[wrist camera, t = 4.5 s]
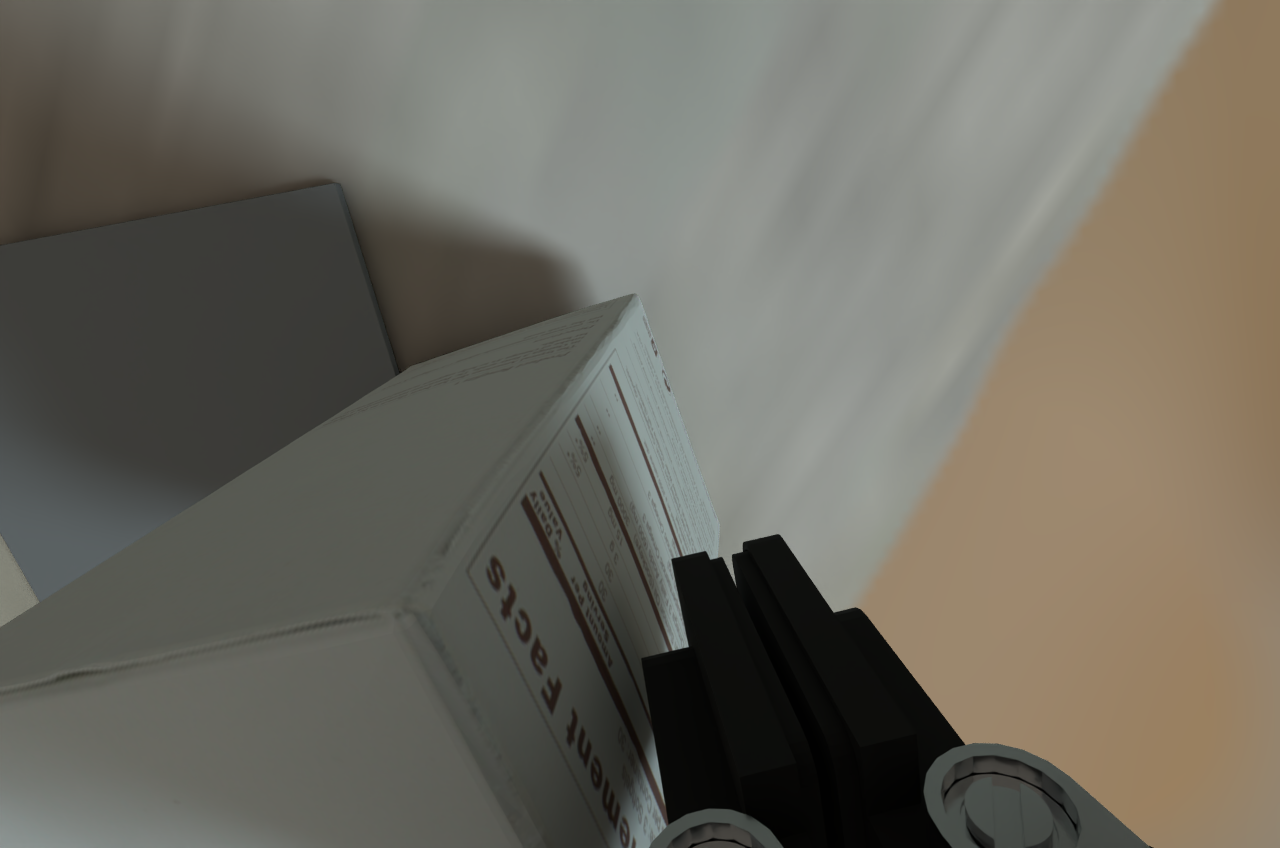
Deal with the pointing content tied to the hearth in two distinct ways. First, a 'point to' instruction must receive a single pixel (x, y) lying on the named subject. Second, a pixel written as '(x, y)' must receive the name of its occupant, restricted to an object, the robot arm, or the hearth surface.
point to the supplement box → (384, 624)
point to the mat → (171, 365)
